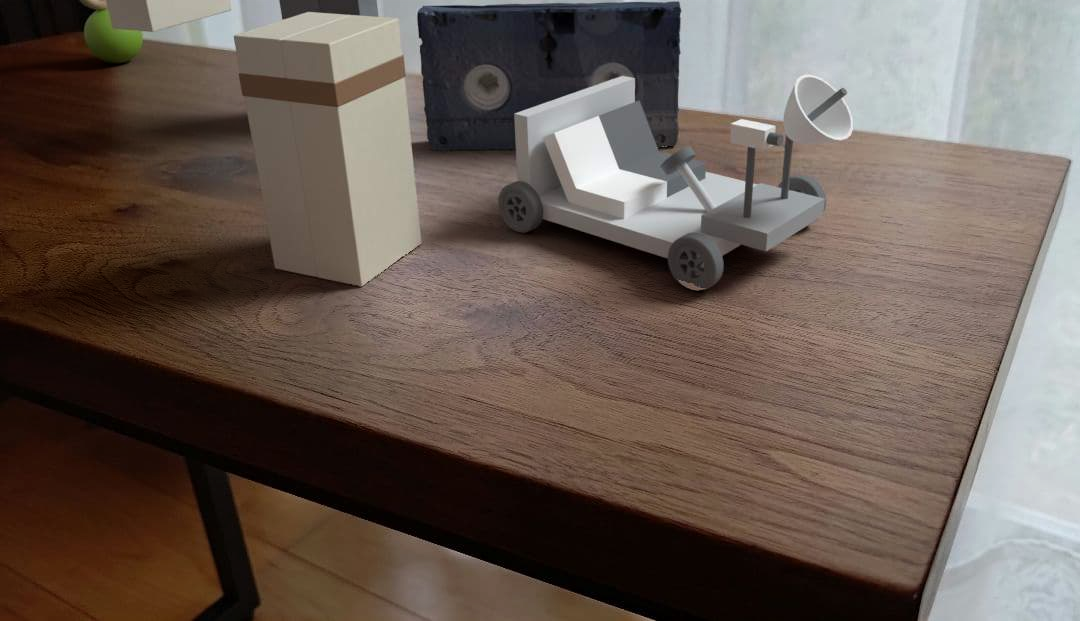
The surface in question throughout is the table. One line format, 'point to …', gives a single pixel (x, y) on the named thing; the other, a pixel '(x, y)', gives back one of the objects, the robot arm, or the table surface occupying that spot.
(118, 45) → the snail figurine
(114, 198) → the table surface
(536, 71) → the vhs cassette tape
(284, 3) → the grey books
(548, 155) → the toy car
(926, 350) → the table surface
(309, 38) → the cream brown-striped block
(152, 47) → the table surface
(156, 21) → the cream rectangular block
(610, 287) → the table surface
